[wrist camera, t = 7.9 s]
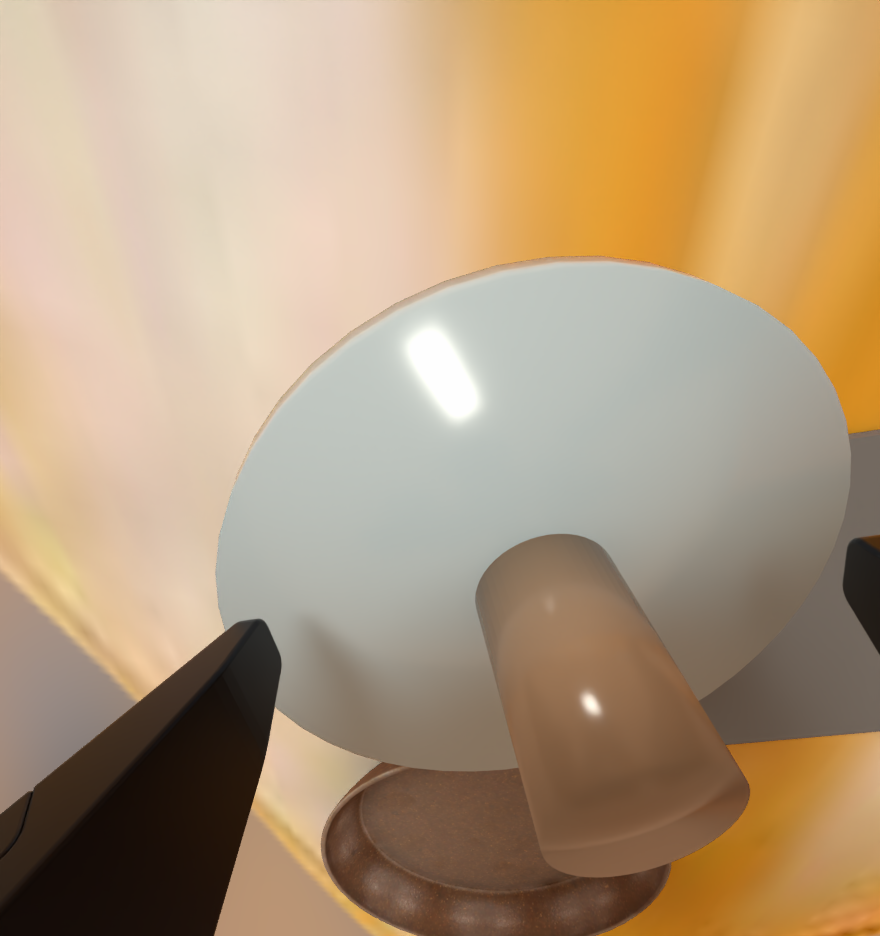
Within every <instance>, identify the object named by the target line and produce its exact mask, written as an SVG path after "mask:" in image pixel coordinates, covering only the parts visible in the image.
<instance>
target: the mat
mask: <svg viewBox="0 0 880 936" xmlns="http://www.w3.org/2000/svg"><path fill="white" fill-rule="evenodd" d="M848 436H849V443H850V450H851V474H850V489H849V495H848V500H847V505H846V511H845V516H844V520H843V523H842V525H841V528H840V531H839V534H838V537H837V540H836V543H835V546H834V549H833V551H832V553H831V555H830V557H829V559H828V561H827V563H826V565H825V567H824V569H823V571H822V573H821V575H820V577H819V579H818V580H817V582H816V584H815V585H814V587H813V588H812V590H811V591H810V593H809V595H808V596H807V598H806V599H805V601H804V602H803V604H802V605H801V607H800V608H799V609H798V610H797V612H796V613H795V614H794V615H793V617H792V618H791V619H790V621H789V622H788V623H787V624H786V626H785V627H784V628H783V629H782V631H781V632H780V633H779V634H778V635H777V636H776V637H775V638H774V639H773V640H772V641H771V642H770V643H769V644H768V645H767V646H766V647H765V648H764V649H763V650H762V651H761V652H760V653H759V654H758V655H757V656H756V657H755V658H754V659H753V660H752V661H750V662H749V663H748V664H747V665H746V666H745V667H744V668H742V669H741V670H740V671H739V672H738V673H737V674H736V675H734V676H733V677H732V678H730V679H729V680H728V681H726V682H725V683H724V684H722V685H721V686H720V687H718V688H717V689H716V690H714V691H713V692H712V693H710V694H709V695H707V696H706V697H704V698H702V699H701V700H699V703H700V704H701V706H702V707H703V709H704V711H705V712H706V714H707V716H708V717H709V719H710V721H711V722H712V724H713V726H714V727H715V729H716V730H717V732H718V734H719V735H720V737H721V739H722V740H723V742H724V744H725V745H729V744H741V743H752V742H763V741H775V740H786V739H798V738H809V737H820V736H832V735H843V734H855V733H866V732H877V731H880V655H879V653H878V652H877V650H876V648H875V647H874V645H873V643H872V642H871V640H870V638H869V637H868V635H867V633H866V632H865V630H864V629H863V627H862V625H861V624H860V622H859V620H858V619H857V617H856V615H855V614H854V612H853V610H852V609H851V607H850V605H849V604H848V602H847V600H846V598H845V595H844V592H843V586H842V582H843V574H844V566H845V558H846V551H847V546H848V544H849V542H850V541H851V540H852V539H854V538H858V537H865V536H873V535H880V430H874V431H867V432H861V433H854V434H848Z"/></svg>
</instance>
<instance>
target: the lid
mask: <svg viewBox="0 0 880 936" xmlns="http://www.w3.org/2000/svg"><path fill="white" fill-rule="evenodd" d="M850 474H851V450H850V443H849V436H848V429H847V423H846V419H845V416H844V413H843V410H842V407H841V405H840V402H839V399H838V396H837V393H836V390H835V388H834V386H833V385H832V383H831V381H830V380H829V378H828V376H827V375H826V373H825V371H824V370H823V368H822V366H821V364H820V363H819V361H818V359H817V358H816V357H815V356H814V355H813V354H812V352H811V351H810V350H809V349H808V348H807V347H806V346H805V345H804V344H803V343H802V341H801V340H800V339H799V338H798V337H797V336H796V335H795V334H794V333H793V332H792V330H790V329H789V328H788V327H786V326H785V325H784V324H782V323H781V322H780V321H778V320H777V319H776V318H774V317H773V316H771V315H770V314H769V313H767V312H766V311H765V310H763V309H762V308H761V307H759V306H758V305H756V304H754V303H752V302H750V301H747V300H745V299H743V298H741V297H739V296H737V295H735V294H733V293H731V292H729V291H727V290H725V289H723V288H721V287H719V286H716V285H714V284H712V283H709V282H707V281H705V280H703V279H700V278H698V277H696V276H693V275H691V274H688V273H684V272H681V271H677V270H674V269H670V268H667V267H663V266H660V265H657V264H653V263H650V262H644V261H636V260H629V259H621V258H613V257H605V256H569V257H545V258H539V259H533V260H527V261H520V262H514V263H508V264H502V265H496V266H493V267H489V268H486V269H483V270H479V271H476V272H473V273H470V274H466V275H463V276H460V277H456V278H453V279H450V280H447V281H444V282H441V283H439V284H437V285H435V286H433V287H430V288H428V289H426V290H424V291H422V292H419V293H417V294H415V295H413V296H411V297H408V298H406V299H404V300H402V301H400V302H397V303H395V304H394V305H392V306H391V307H389V308H387V309H386V310H384V311H383V312H381V313H379V314H378V315H376V316H375V317H373V318H371V319H370V320H368V321H367V322H365V323H363V324H362V325H360V326H359V327H357V328H355V329H354V330H352V331H351V332H349V333H348V334H347V335H346V336H345V337H343V338H342V339H341V340H340V341H339V342H337V343H336V344H335V345H334V346H333V347H331V348H330V349H329V350H328V351H327V352H325V353H324V354H323V355H322V356H320V357H319V358H318V359H317V360H316V361H314V362H313V363H312V364H311V365H310V366H309V367H308V368H307V370H306V371H305V372H304V373H303V374H302V375H301V376H300V377H299V378H298V379H297V381H296V382H295V383H294V384H293V385H292V386H291V387H290V388H289V389H288V390H287V392H286V393H285V394H284V395H283V396H282V397H281V398H280V399H279V401H278V402H277V404H276V405H275V407H274V408H273V410H272V411H271V413H270V414H269V416H268V417H267V419H266V420H265V422H264V423H263V425H262V426H261V428H260V429H259V431H258V432H257V434H256V435H255V437H254V439H253V441H252V443H251V445H250V448H249V450H248V452H247V454H246V456H245V458H244V460H243V463H242V465H241V467H240V469H239V471H238V473H237V477H236V480H235V483H234V486H233V489H232V493H231V496H230V499H229V503H228V506H227V510H226V513H225V517H224V520H223V524H222V528H221V531H220V535H219V542H218V552H217V563H216V584H217V595H218V606H219V610H220V614H221V617H222V621H223V625H224V628H225V631H227V630H228V629H229V628H230V627H231V626H233V625H234V624H235V623H237V622H239V621H243V620H250V619H258V618H259V619H262V620H264V621H265V622H266V623H267V625H268V627H269V630H270V632H271V634H272V636H273V639H274V641H275V643H276V646H277V648H278V650H279V652H280V655H281V661H282V669H281V675H280V680H279V686H278V691H277V697H276V702H275V707H276V708H277V709H278V710H279V711H280V712H282V713H283V714H284V715H286V716H287V717H288V718H290V719H291V720H292V721H294V722H295V723H296V724H298V725H299V726H300V727H302V728H303V729H305V730H307V731H308V732H310V733H312V734H314V735H316V736H317V737H319V738H321V739H323V740H324V741H326V742H328V743H330V744H333V745H335V746H338V747H340V748H342V749H345V750H347V751H350V752H352V753H354V754H357V755H361V756H364V757H368V758H371V759H374V760H378V761H381V762H385V763H390V764H395V765H400V766H406V767H411V768H418V769H429V770H439V771H490V770H505V769H512V768H519V771H520V775H521V778H522V782H523V786H524V790H525V793H526V797H527V801H528V804H529V808H530V812H531V816H532V819H533V823H534V827H535V831H536V834H537V838H538V842H539V846H540V849H541V853H542V855H543V858H544V859H545V861H546V862H547V863H548V864H549V865H550V866H552V867H553V868H555V869H557V870H558V871H561V872H563V873H566V874H570V875H574V876H581V877H613V876H622V875H628V874H633V873H638V872H642V871H646V870H649V869H653V868H656V867H659V866H662V865H665V864H668V863H671V862H673V861H676V860H678V859H681V858H683V857H685V856H687V855H689V854H691V853H693V852H695V851H697V850H699V849H700V848H702V847H704V846H706V845H707V844H709V843H710V842H712V841H713V840H715V839H716V838H718V837H719V836H720V835H722V834H723V833H724V832H725V831H726V830H728V829H729V828H730V827H731V826H732V825H733V824H734V823H735V822H736V821H737V820H738V818H739V817H740V816H741V814H742V813H743V811H744V809H745V808H746V806H747V803H748V800H749V796H750V788H749V784H748V782H747V780H746V778H745V776H744V775H743V773H742V771H741V770H740V768H739V766H738V765H737V763H736V762H735V760H734V758H733V757H732V755H731V753H730V752H729V750H728V748H727V747H726V745H725V744H724V742H723V740H722V739H721V737H720V735H719V734H718V732H717V730H716V729H715V727H714V726H713V724H712V722H711V721H710V719H709V717H708V716H707V714H706V712H705V711H704V709H703V707H702V706H701V704H700V703H699V700H701V699H702V698H704V697H706V696H707V695H709V694H710V693H712V692H713V691H714V690H716V689H717V688H718V687H720V686H721V685H722V684H724V683H725V682H726V681H728V680H729V679H730V678H732V677H733V676H734V675H736V674H737V673H738V672H739V671H740V670H741V669H742V668H744V667H745V666H746V665H747V664H748V663H749V662H750V661H752V660H753V659H754V658H755V657H756V656H757V655H758V654H759V653H760V652H761V651H762V650H763V649H764V648H765V647H766V646H767V645H768V644H769V643H770V642H771V641H772V640H773V639H774V638H775V637H776V636H777V635H778V634H779V633H780V632H781V631H782V629H783V628H784V627H785V626H786V624H787V623H788V622H789V621H790V619H791V618H792V617H793V615H794V614H795V613H796V612H797V610H798V609H799V608H800V607H801V605H802V604H803V602H804V601H805V599H806V598H807V596H808V595H809V593H810V591H811V590H812V588H813V587H814V585H815V584H816V582H817V580H818V579H819V577H820V575H821V573H822V571H823V569H824V567H825V565H826V563H827V561H828V559H829V557H830V555H831V553H832V551H833V549H834V546H835V543H836V540H837V537H838V534H839V531H840V528H841V525H842V523H843V520H844V516H845V511H846V505H847V500H848V495H849V489H850Z"/></svg>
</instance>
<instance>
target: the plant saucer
mask: <svg viewBox="0 0 880 936" xmlns="http://www.w3.org/2000/svg"><path fill="white" fill-rule="evenodd" d="M321 852H322V859H323V862H324V865H325V868H326V870H327V872H328V874H329V876H330V877H331V879H332V881H333V882H334V884H335V885H336V886H337V888H338V889H339V890H340V891H341V892H342V893H343V894H344V895H345V896H346V897H347V898H348V899H349V900H350V901H351V902H353V903H354V904H356V905H357V906H358V907H359V908H361V909H362V910H364V911H365V912H367V913H368V914H370V915H372V916H373V917H375V918H378V919H379V920H381V921H383V922H385V923H387V924H389V925H391V926H394V927H396V928H398V929H400V930H403V931H406V932H409V933H412V934H414V935H417V936H596V935H599V934H602V933H605V932H607V931H610V930H612V929H614V928H616V927H618V926H620V925H622V924H624V923H626V922H627V921H629V920H630V919H632V918H634V917H635V916H637V915H638V914H639V913H641V912H642V911H643V910H644V909H646V908H647V907H648V906H649V905H650V904H651V903H652V902H653V901H654V900H655V899H656V898H657V896H658V895H659V894H660V892H661V891H662V889H663V888H664V886H665V884H666V882H667V879H668V877H669V873H670V870H671V863H668V864H665V865H662V866H659V867H656V868H653V869H649V870H646V871H642V872H638V873H633V874H628V875H622V876H613V877H581V876H574V875H570V874H566V873H563V872H561V871H558V870H557V869H555V868H553V867H552V866H550V865H549V864H548V863H547V862H546V861H545V859H544V858H543V855H542V853H541V849H540V846H539V842H538V838H537V834H536V831H535V827H534V823H533V819H532V816H531V812H530V808H529V804H528V801H527V797H526V793H525V790H524V786H523V782H522V778H521V775H520V771H519V768H512V769H505V770H490V771H439V770H429V769H418V768H411V767H406V766H400V765H395V764H390V763H385V762H382V763H381V764H379V765H378V766H377V767H375V768H374V769H372V770H371V771H370V772H369V773H368V774H366V775H365V776H364V777H363V778H362V779H361V780H360V781H359V782H358V783H357V784H356V785H355V786H354V787H352V788H351V789H350V791H349V792H348V793H347V794H346V795H345V796H344V797H343V798H342V800H341V801H340V802H339V803H338V805H337V806H336V807H335V809H334V810H333V811H332V813H331V814H330V816H329V817H328V820H327V822H326V824H325V827H324V829H323V833H322V838H321Z"/></svg>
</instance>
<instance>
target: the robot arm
mask: <svg viewBox="0 0 880 936" xmlns="http://www.w3.org/2000/svg"><path fill="white" fill-rule="evenodd" d="M842 586H843V592H844V595H845V598H846V600H847V602H848V604H849V605H850V607H851V609H852V610H853V612H854V614H855V615H856V617H857V619H858V620H859V622H860V624H861V625H862V627H863V629H864V630H865V632H866V633H867V635H868V637H869V638H870V640H871V642H872V643H873V645H874V647H875V648H876V650H877V652H878V653H879V655H880V535H873V536H865V537H858V538H854V539H852V540H851V541H850V542H849V544H848V546H847V551H846V558H845V566H844V574H843V582H842ZM281 669H282V661H281V655H280V652H279V650H278V648H277V646H276V643H275V641H274V639H273V636H272V634H271V632H270V630H269V627H268V625H267V623H266V622H265V621H264V620H262V619H259V618H258V619H250V620H243V621H239V622H237V623H235V624H234V625H233V626H231V627H230V628H229V629H228V630H227V631H225V632H224V633H223V634H222V635H220V636H219V637H218V638H217V639H216V640H214V641H213V642H212V643H211V644H209V645H208V646H207V647H206V648H204V649H203V650H202V651H201V652H200V653H198V654H197V655H196V656H195V657H193V658H192V659H191V660H190V661H188V662H187V663H186V664H185V665H184V666H182V667H181V668H180V669H179V670H177V671H176V672H175V673H174V674H172V675H171V676H170V677H169V678H168V679H166V680H165V681H164V682H163V683H161V684H160V685H159V686H158V687H156V688H155V689H154V690H153V691H152V692H150V693H149V694H148V695H147V696H145V697H144V698H143V699H142V700H140V701H139V702H138V703H137V704H136V705H134V706H133V707H132V708H131V709H129V710H128V711H127V712H126V713H124V714H123V715H122V716H121V717H120V718H118V719H117V720H116V721H115V722H113V723H112V724H111V725H110V726H109V727H107V728H106V729H105V730H104V731H102V732H101V733H100V734H99V735H97V736H96V737H95V738H94V739H93V740H91V741H90V742H89V743H88V744H86V745H85V746H84V747H83V748H81V749H80V750H79V751H78V752H76V753H75V754H74V755H73V756H72V757H70V758H69V759H68V760H67V761H65V762H64V763H63V764H62V765H60V766H59V767H58V768H57V769H56V770H54V771H53V772H52V773H51V774H49V775H48V776H47V777H46V778H44V779H43V780H42V781H41V782H40V783H38V784H37V785H36V786H35V787H34V790H33V791H29V792H27V793H26V794H25V795H23V796H22V797H21V798H20V799H18V800H17V801H16V802H15V803H14V804H12V805H11V806H10V807H9V808H8V809H6V810H5V811H4V812H3V813H2V814H0V936H214V934H215V930H216V927H217V923H218V920H219V916H220V913H221V909H222V906H223V903H224V899H225V896H226V892H227V889H228V885H229V882H230V878H231V875H232V871H233V868H234V865H235V861H236V858H237V854H238V851H239V847H240V844H241V840H242V837H243V833H244V830H245V826H246V823H247V820H248V816H249V813H250V809H251V806H252V802H253V799H254V796H255V792H256V789H257V785H258V782H259V778H260V775H261V771H262V767H263V764H264V760H265V755H266V751H267V746H268V741H269V736H270V730H271V724H272V719H273V713H274V708H275V702H276V697H277V691H278V686H279V680H280V675H281Z"/></svg>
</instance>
